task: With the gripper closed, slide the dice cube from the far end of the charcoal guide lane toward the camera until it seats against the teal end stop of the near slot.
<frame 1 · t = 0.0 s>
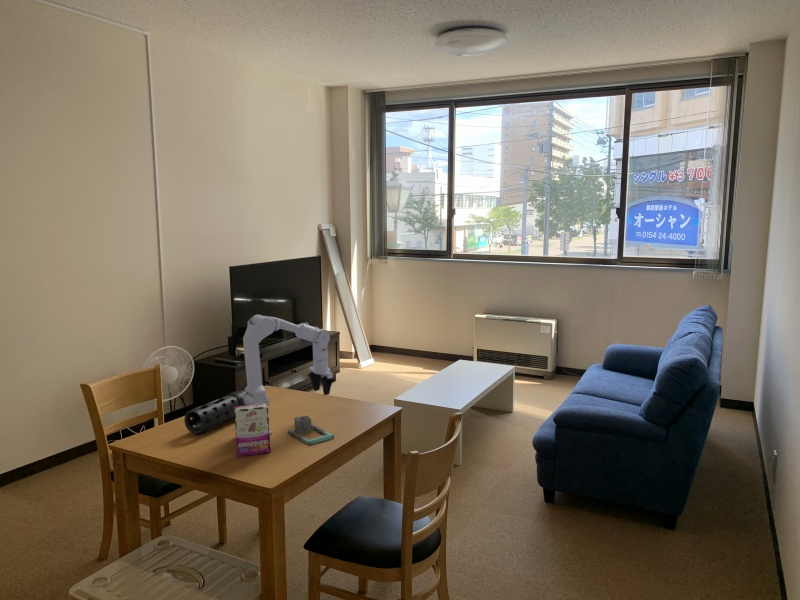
hand: (321, 392, 238), 10 cm above the table, tool pointing down, fingers open, 7 cm apart
dice cube: (303, 431, 224), on the table
muzzle brake: (220, 425, 232), on the table
guide lane: (310, 435, 219), on the table
candy bar box: (253, 452, 204), on the table
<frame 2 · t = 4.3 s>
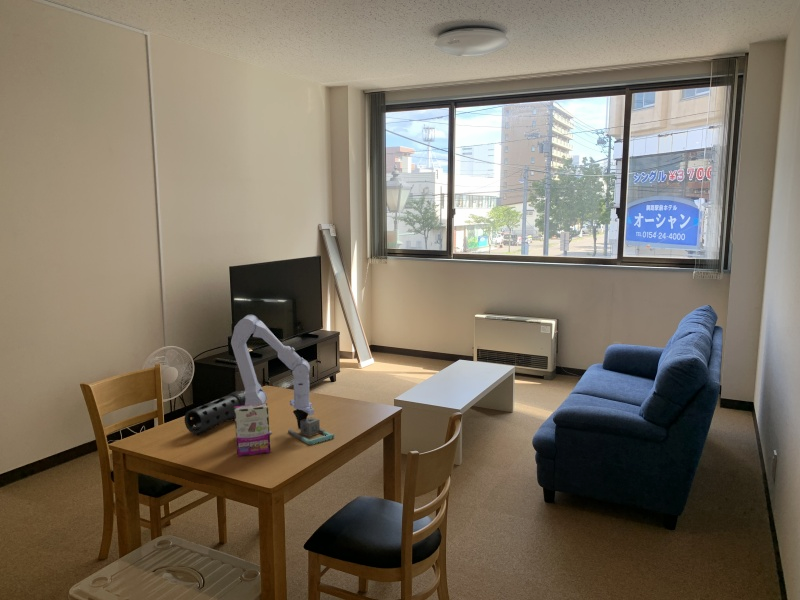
hand: (301, 428, 223), 1 cm above the table, tool pointing down, fingers closed, pressing on dice cube
dice cube: (310, 433, 222), on the table, touching gripper, guide lane
everything else where it was.
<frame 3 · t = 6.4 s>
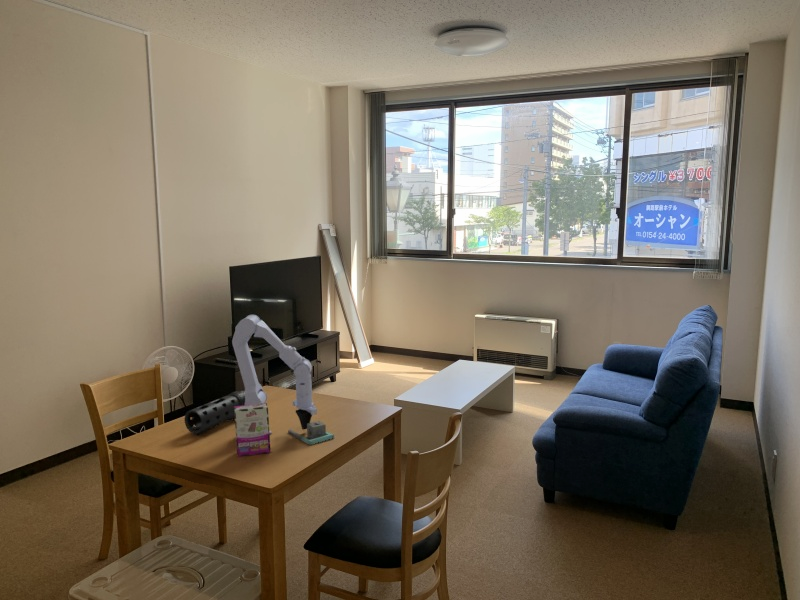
hand: (305, 428, 222), 2 cm above the table, tool pointing down, fingers closed
dice cube: (316, 437, 218), on the table
everything else where it was.
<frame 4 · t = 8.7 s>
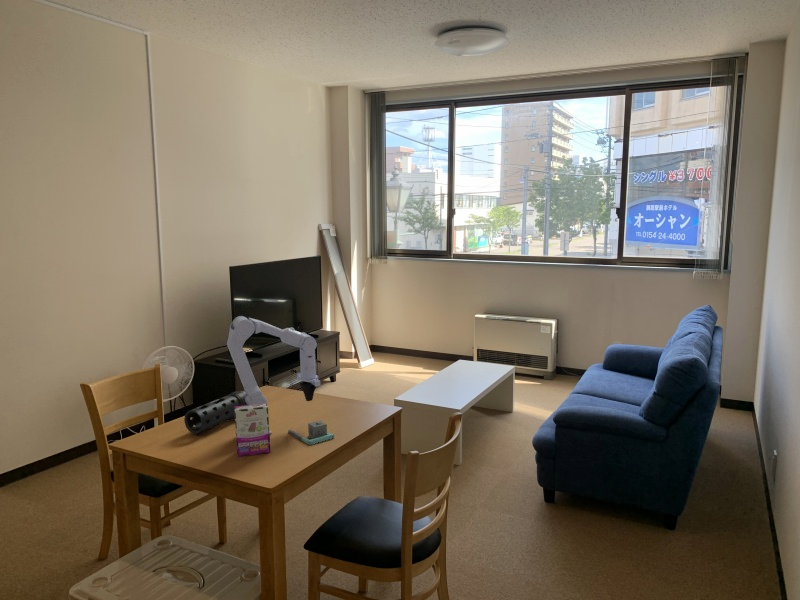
hand: (309, 400, 230), 9 cm above the table, tool pointing down, fingers closed
nothing on the table moved.
at the end: dice cube 2.0 cm from the target spot, on the table; dice cube tilted 0°; dice cube moved 8.8 cm from its start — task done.
